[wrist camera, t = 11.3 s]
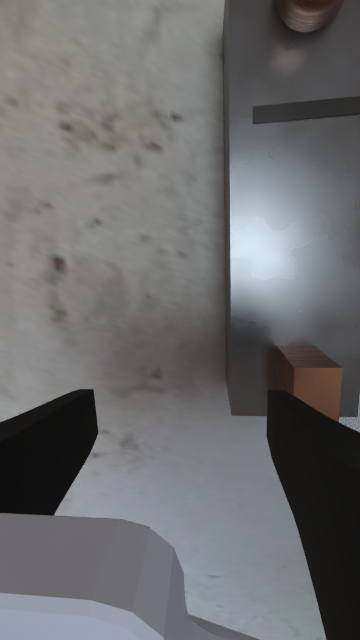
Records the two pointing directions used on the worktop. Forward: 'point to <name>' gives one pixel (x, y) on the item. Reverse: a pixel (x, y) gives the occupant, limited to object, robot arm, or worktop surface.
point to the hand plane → (292, 203)
